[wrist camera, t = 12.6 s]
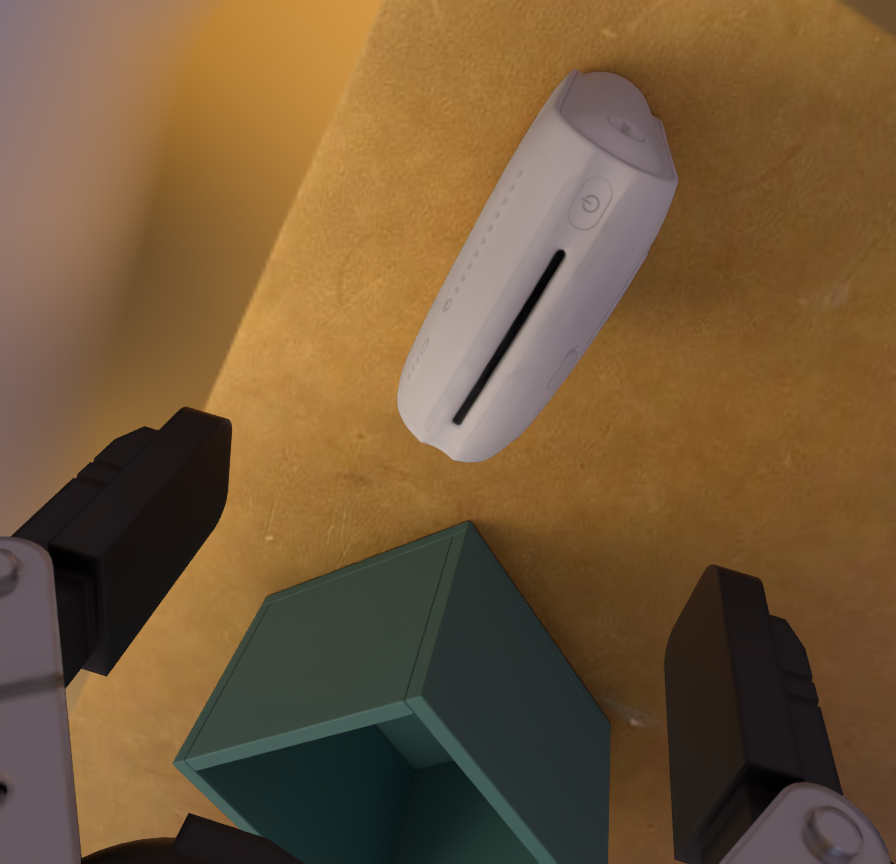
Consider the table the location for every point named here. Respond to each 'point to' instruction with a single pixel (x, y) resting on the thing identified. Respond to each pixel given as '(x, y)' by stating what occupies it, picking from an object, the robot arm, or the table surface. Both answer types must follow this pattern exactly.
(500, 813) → the chest
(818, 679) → the table surface
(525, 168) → the photo printer
